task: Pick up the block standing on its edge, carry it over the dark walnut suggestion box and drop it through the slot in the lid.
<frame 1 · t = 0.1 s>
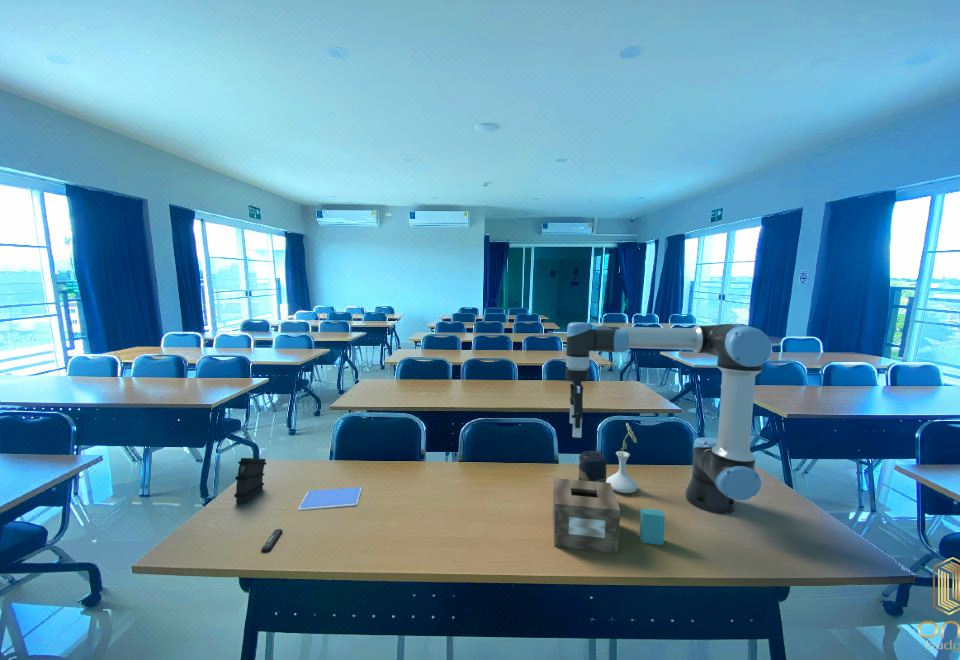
hand: (575, 429, 128), 28 cm above the table, tool pointing down, fingers open, 13 cm apart
suggestion box: (582, 532, 117), on the table
canister: (591, 501, 135), on the table
block: (651, 540, 113), on the table
usb stick: (272, 543, 111), on the table
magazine: (251, 495, 137), on the table
flower in vase: (622, 488, 145), on the table
tablet computer: (331, 500, 135), on the table
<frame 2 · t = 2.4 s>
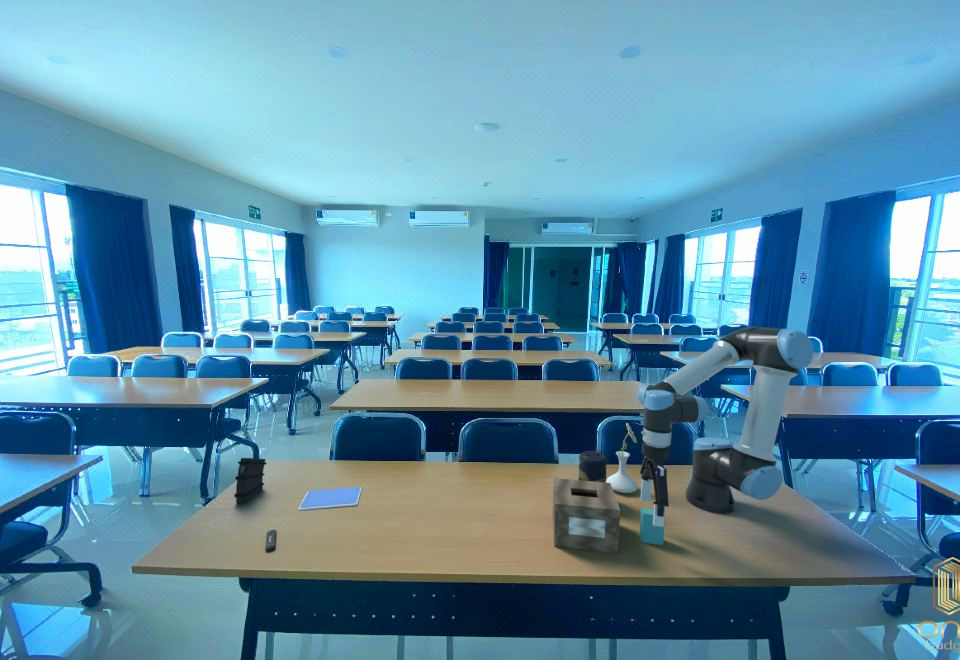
hand: (651, 512, 112), 9 cm above the table, tool pointing down, fingers open, 13 cm apart
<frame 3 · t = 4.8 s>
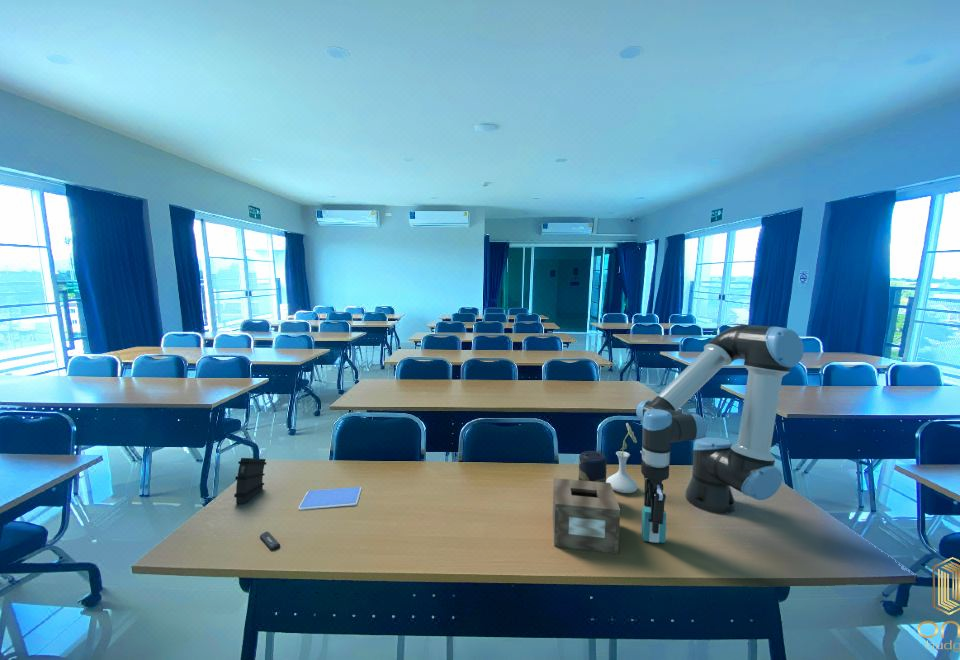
hand: (652, 537, 113), 1 cm above the table, tool pointing down, fingers closed on block, 3 cm apart
block: (653, 538, 113), point 1 cm above the table, touching gripper
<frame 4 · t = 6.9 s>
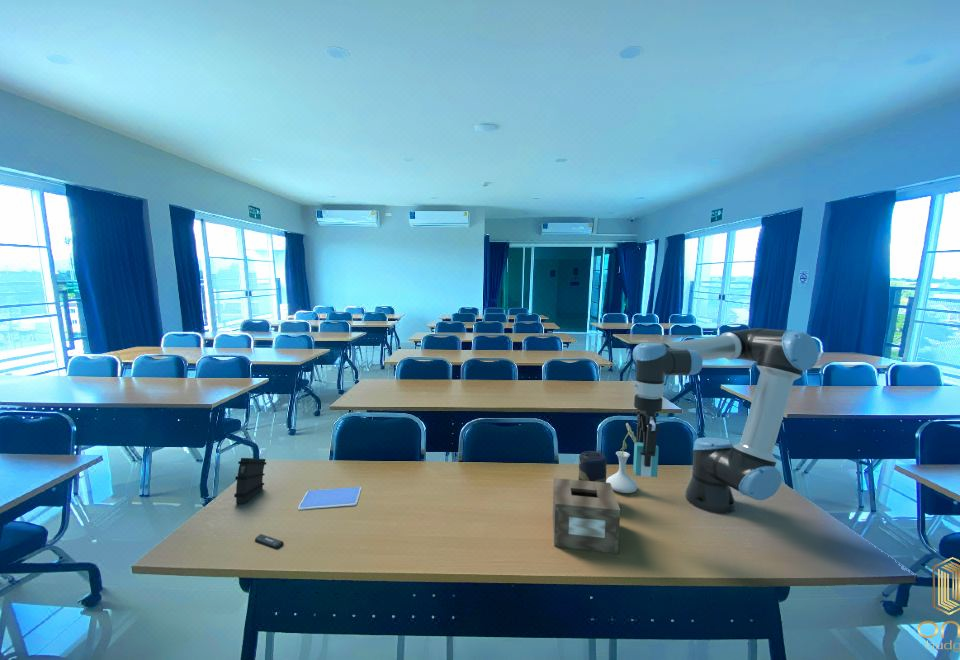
hand: (643, 472, 112), 21 cm above the table, tool pointing down, fingers closed on block, 3 cm apart
block: (644, 474, 112), point 21 cm above the table, touching gripper
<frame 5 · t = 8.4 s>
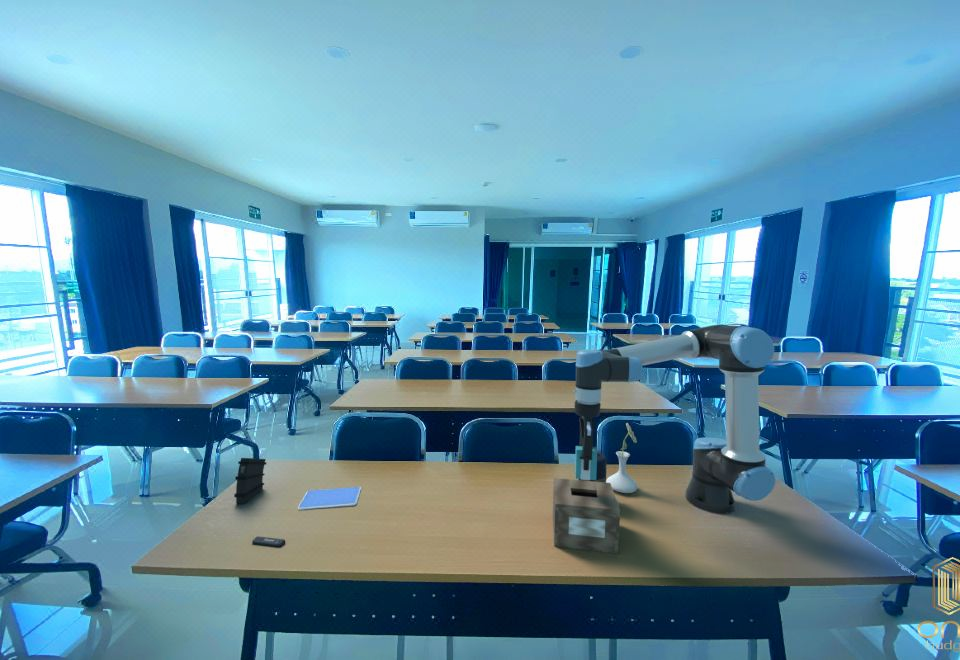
hand: (584, 476, 115), 18 cm above the table, tool pointing down, fingers closed on block, 3 cm apart
block: (585, 477, 115), point 18 cm above the table, touching gripper
when the fingers open (15 cm above the table, at t = 9.4 s): block drops 14 cm, resting in suggestion box.
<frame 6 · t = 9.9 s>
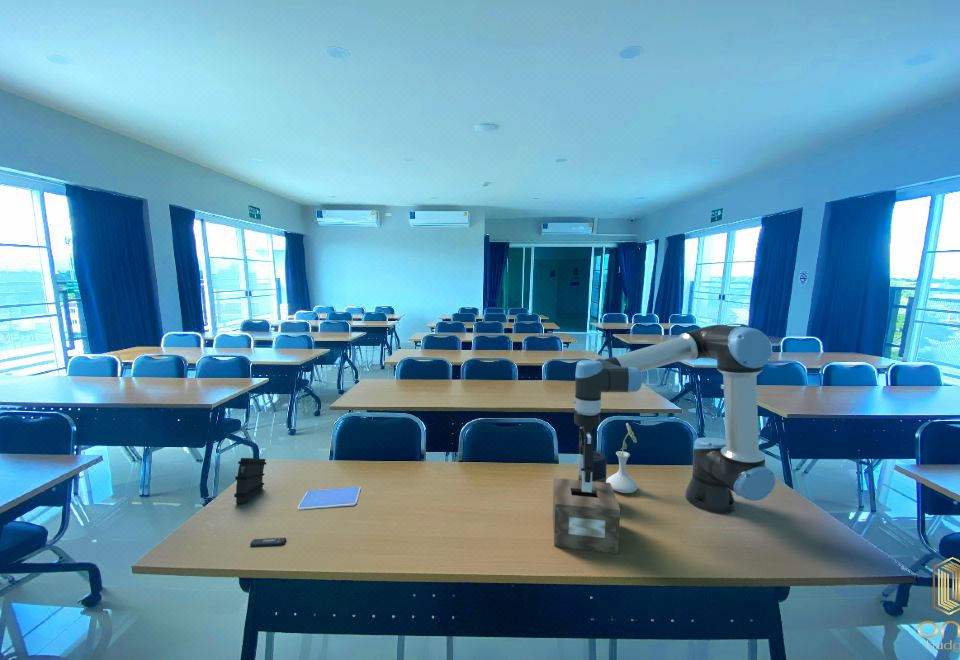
hand: (584, 482, 115), 16 cm above the table, tool pointing down, fingers open, 10 cm apart
block: (584, 531, 117), resting in suggestion box, tilted 18°
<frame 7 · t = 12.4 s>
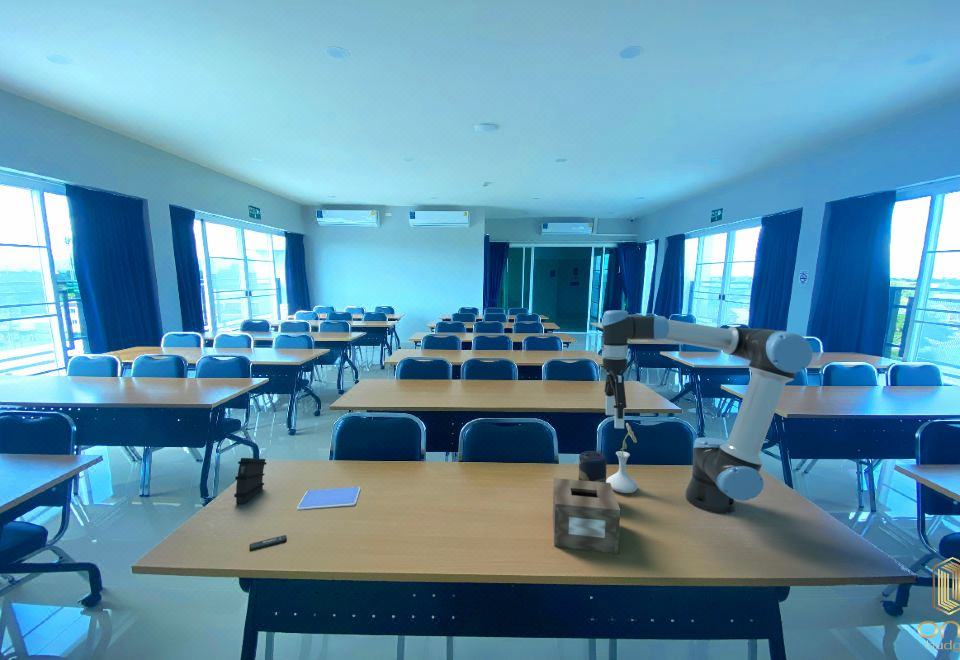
hand: (614, 421, 125), 32 cm above the table, tool pointing down, fingers open, 13 cm apart
block: (584, 529, 117), point 1 cm above the table, tilted 36°
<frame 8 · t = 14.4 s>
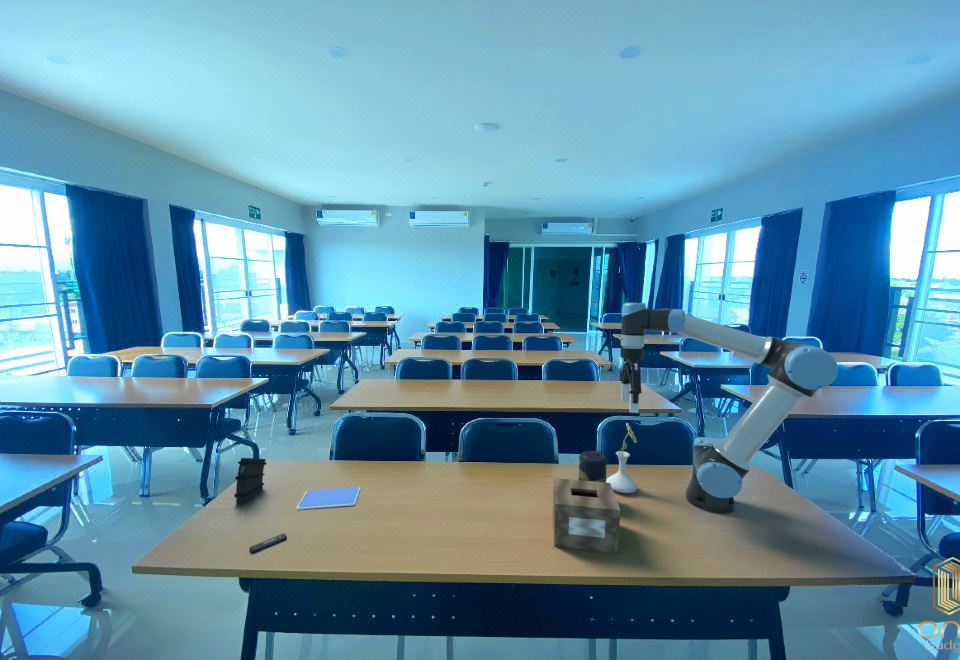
hand: (629, 406, 133), 35 cm above the table, tool pointing down, fingers open, 13 cm apart
at the end: block inside the target area on the suggestion box (0.6 cm from its centre), point 0.9 cm above the suggestion box's base; the gripper is holding nothing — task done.
